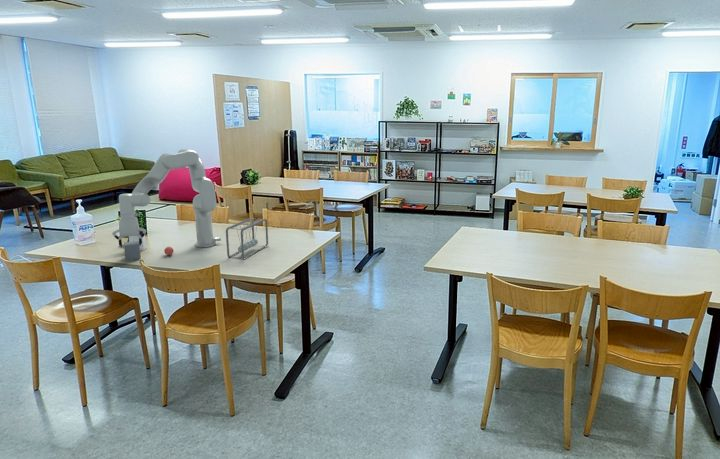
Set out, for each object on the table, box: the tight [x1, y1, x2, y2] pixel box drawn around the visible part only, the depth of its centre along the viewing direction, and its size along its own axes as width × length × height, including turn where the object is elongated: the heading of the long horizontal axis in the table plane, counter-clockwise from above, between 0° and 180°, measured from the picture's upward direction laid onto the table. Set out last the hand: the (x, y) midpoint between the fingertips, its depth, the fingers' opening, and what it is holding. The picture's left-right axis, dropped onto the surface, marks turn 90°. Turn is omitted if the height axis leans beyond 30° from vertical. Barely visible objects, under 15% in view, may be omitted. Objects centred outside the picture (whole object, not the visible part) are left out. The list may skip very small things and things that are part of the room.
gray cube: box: [123, 241, 142, 262], centre depth 280 cm, size 8×8×9 cm
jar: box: [129, 230, 147, 252], centre depth 297 cm, size 9×8×12 cm
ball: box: [163, 246, 174, 256], centre depth 286 cm, size 5×5×5 cm
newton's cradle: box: [225, 217, 269, 260], centre depth 291 cm, size 30×10×18 cm, turn 163°
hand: (130, 245), depth 279 cm, fingers open, 9 cm apart
